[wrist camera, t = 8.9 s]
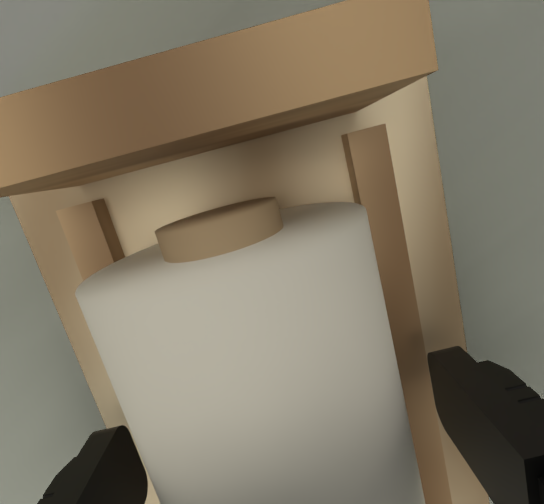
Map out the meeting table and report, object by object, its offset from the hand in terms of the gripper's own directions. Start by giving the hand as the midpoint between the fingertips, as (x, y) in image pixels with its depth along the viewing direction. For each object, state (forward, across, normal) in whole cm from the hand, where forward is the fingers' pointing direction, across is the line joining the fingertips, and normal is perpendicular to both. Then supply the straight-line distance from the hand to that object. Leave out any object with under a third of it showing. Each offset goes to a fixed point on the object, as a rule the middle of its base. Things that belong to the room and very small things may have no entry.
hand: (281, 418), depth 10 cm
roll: (+2, 0, 0) cm, 2 cm away
